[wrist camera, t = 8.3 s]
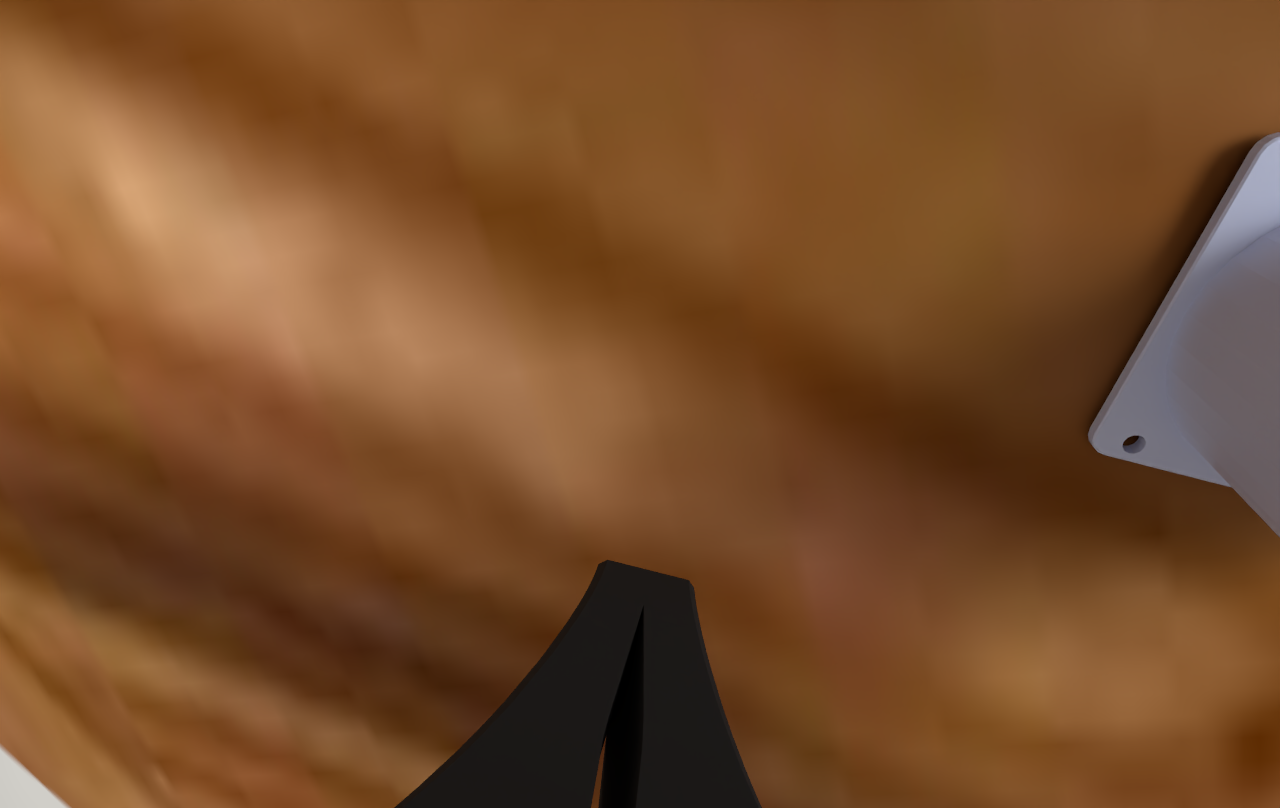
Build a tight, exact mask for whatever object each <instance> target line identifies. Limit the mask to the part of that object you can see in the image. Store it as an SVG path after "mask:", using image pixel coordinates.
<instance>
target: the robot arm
mask: <svg viewBox="0 0 1280 808" xmlns="http://www.w3.org/2000/svg"><path fill="white" fill-rule="evenodd" d="M1134 435H1136V436H1139V438H1138V440H1137V441H1136V442H1135V443H1134V444H1131V445H1128V446H1126V445H1123V442H1124V441H1125V440H1126V439H1127V438H1128V437H1131V436H1134ZM1088 438H1089V442H1090V443H1091V444H1092V446H1093V447H1094V448H1095V449H1096V451H1097V452H1099V453H1101V454H1103V455H1106V456H1110V457H1114V458H1118V459H1122V460H1126V461H1130V462H1134V463H1138V464H1142V465H1146V466H1150V467H1153V468H1157V469H1161V470H1165V471H1169V472H1173V473H1177V474H1181V475H1185V476H1189V477H1193V478H1197V479H1201V480H1204V481H1208V482H1212V483H1216V484H1220V485H1224V486H1228V487H1232V488H1233V489H1234V490H1235V491H1236V492H1237V493H1238V494H1239V495H1240V496H1241V497H1242V498H1243V499H1244V500H1245V502H1246V503H1247V504H1248V505H1249V506H1250V507H1251V508H1252V509H1253V510H1254V511H1255V512H1256V513H1257V514H1258V515H1259V516H1260V517H1261V518H1262V519H1263V520H1264V521H1265V523H1266V524H1267V525H1268V526H1269V527H1270V528H1271V529H1272V530H1273V531H1274V532H1275V533H1276V534H1277V535H1278V536H1279V537H1280V133H1274V134H1271V135H1267V136H1265V137H1264V138H1262V139H1261V140H1259V141H1258V142H1256V144H1255V145H1254V146H1253V147H1252V149H1251V150H1250V151H1249V153H1248V155H1247V156H1246V158H1245V160H1244V161H1243V163H1242V165H1241V167H1240V168H1239V170H1238V172H1237V174H1236V175H1235V177H1234V179H1233V181H1232V182H1231V184H1230V186H1229V187H1228V189H1227V191H1226V193H1225V194H1224V196H1223V198H1222V200H1221V201H1220V203H1219V205H1218V207H1217V208H1216V210H1215V212H1214V214H1213V215H1212V217H1211V219H1210V220H1209V222H1208V224H1207V226H1206V227H1205V229H1204V231H1203V233H1202V234H1201V236H1200V238H1199V240H1198V241H1197V243H1196V245H1195V246H1194V248H1193V250H1192V252H1191V253H1190V255H1189V257H1188V259H1187V260H1186V262H1185V264H1184V266H1183V267H1182V269H1181V271H1180V273H1179V274H1178V276H1177V278H1176V279H1175V281H1174V283H1173V285H1172V286H1171V288H1170V290H1169V292H1168V293H1167V295H1166V297H1165V299H1164V300H1163V302H1162V304H1161V305H1160V307H1159V309H1158V311H1157V312H1156V314H1155V316H1154V318H1153V319H1152V321H1151V323H1150V325H1149V326H1148V328H1147V330H1146V331H1145V333H1144V335H1143V337H1142V338H1141V340H1140V342H1139V344H1138V345H1137V347H1136V349H1135V351H1134V352H1133V354H1132V356H1131V358H1130V359H1129V361H1128V363H1127V364H1126V366H1125V368H1124V370H1123V371H1122V373H1121V375H1120V377H1119V378H1118V380H1117V382H1116V384H1115V385H1114V387H1113V389H1112V390H1111V392H1110V394H1109V396H1108V397H1107V399H1106V401H1105V403H1104V404H1103V406H1102V408H1101V410H1100V411H1099V413H1098V415H1097V417H1096V418H1095V420H1094V422H1093V423H1092V425H1091V427H1090V429H1089V432H1088ZM606 734H607V735H606ZM605 738H606V743H605V752H604V762H603V771H602V780H601V789H600V798H599V808H762V807H761V805H760V803H759V800H758V798H757V796H756V794H755V791H754V789H753V787H752V784H751V782H750V779H749V777H748V774H747V772H746V770H745V767H744V765H743V762H742V759H741V757H740V754H739V751H738V749H737V746H736V743H735V741H734V738H733V736H732V733H731V730H730V727H729V724H728V721H727V718H726V716H725V713H724V710H723V706H722V703H721V700H720V697H719V694H718V690H717V687H716V684H715V681H714V678H713V674H712V671H711V667H710V664H709V660H708V656H707V652H706V648H705V644H704V640H703V636H702V632H701V627H700V623H699V618H698V613H697V607H696V600H695V593H694V587H693V586H692V584H691V583H690V581H689V580H686V579H682V578H678V577H674V576H670V575H666V574H662V573H658V572H654V571H650V570H646V569H642V568H638V567H634V566H630V565H626V564H622V563H618V562H614V561H610V560H607V561H604V562H602V563H600V564H598V567H597V570H596V573H595V575H594V577H593V579H592V582H591V584H590V586H589V588H588V589H587V591H586V593H585V595H584V597H583V598H582V600H581V602H580V603H579V605H578V606H577V608H576V609H575V611H574V613H573V614H572V616H571V617H570V619H569V620H568V622H567V623H566V625H565V626H564V627H563V629H562V630H561V632H560V633H559V634H558V636H557V637H556V638H555V640H554V641H553V643H552V644H551V645H550V647H549V648H548V649H547V651H546V652H545V654H544V655H543V656H542V657H541V659H540V660H539V661H538V663H537V664H536V665H535V666H534V667H533V669H532V670H531V671H530V672H529V673H528V675H527V676H526V677H525V678H524V679H523V680H522V682H521V683H520V684H519V685H518V686H517V688H516V689H515V690H514V691H513V692H512V693H511V695H510V696H509V697H508V698H507V699H506V701H505V702H504V703H503V704H502V705H501V706H500V707H499V708H498V709H497V710H496V712H495V713H494V714H493V715H492V716H491V717H490V718H489V719H488V720H487V721H486V722H485V723H484V724H483V725H482V726H481V727H480V729H479V730H478V731H477V732H476V733H475V734H474V735H473V736H472V737H471V738H470V739H469V740H468V741H467V742H466V743H465V744H464V745H463V746H462V747H461V748H460V749H459V750H458V751H457V752H456V753H454V754H453V755H452V756H451V757H450V758H449V759H448V760H447V761H446V762H445V763H444V764H443V765H442V766H440V767H439V768H438V769H437V770H436V771H435V772H434V773H433V774H432V775H431V776H430V777H429V778H427V779H426V780H425V781H424V782H423V783H422V784H421V785H420V786H419V787H418V788H417V789H415V790H414V791H413V792H412V793H411V794H410V795H408V796H407V797H406V798H405V799H404V800H403V801H402V802H400V803H399V804H398V805H397V806H396V807H394V808H591V803H592V798H593V792H594V786H595V781H596V775H597V770H598V764H599V759H600V754H601V751H602V747H603V744H604V741H605Z"/></svg>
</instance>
